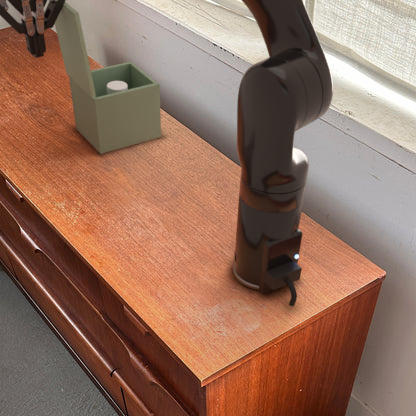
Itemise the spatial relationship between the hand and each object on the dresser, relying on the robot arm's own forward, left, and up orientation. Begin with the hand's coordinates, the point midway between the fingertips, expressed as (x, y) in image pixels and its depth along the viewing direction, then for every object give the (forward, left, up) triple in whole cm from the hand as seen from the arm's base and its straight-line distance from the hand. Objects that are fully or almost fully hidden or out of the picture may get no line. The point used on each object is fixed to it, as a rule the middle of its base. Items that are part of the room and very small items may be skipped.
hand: (37, 55), depth 109 cm
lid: (0, -7, +1) cm, 7 cm away
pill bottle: (0, -15, -17) cm, 23 cm away
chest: (0, -14, -18) cm, 23 cm away
